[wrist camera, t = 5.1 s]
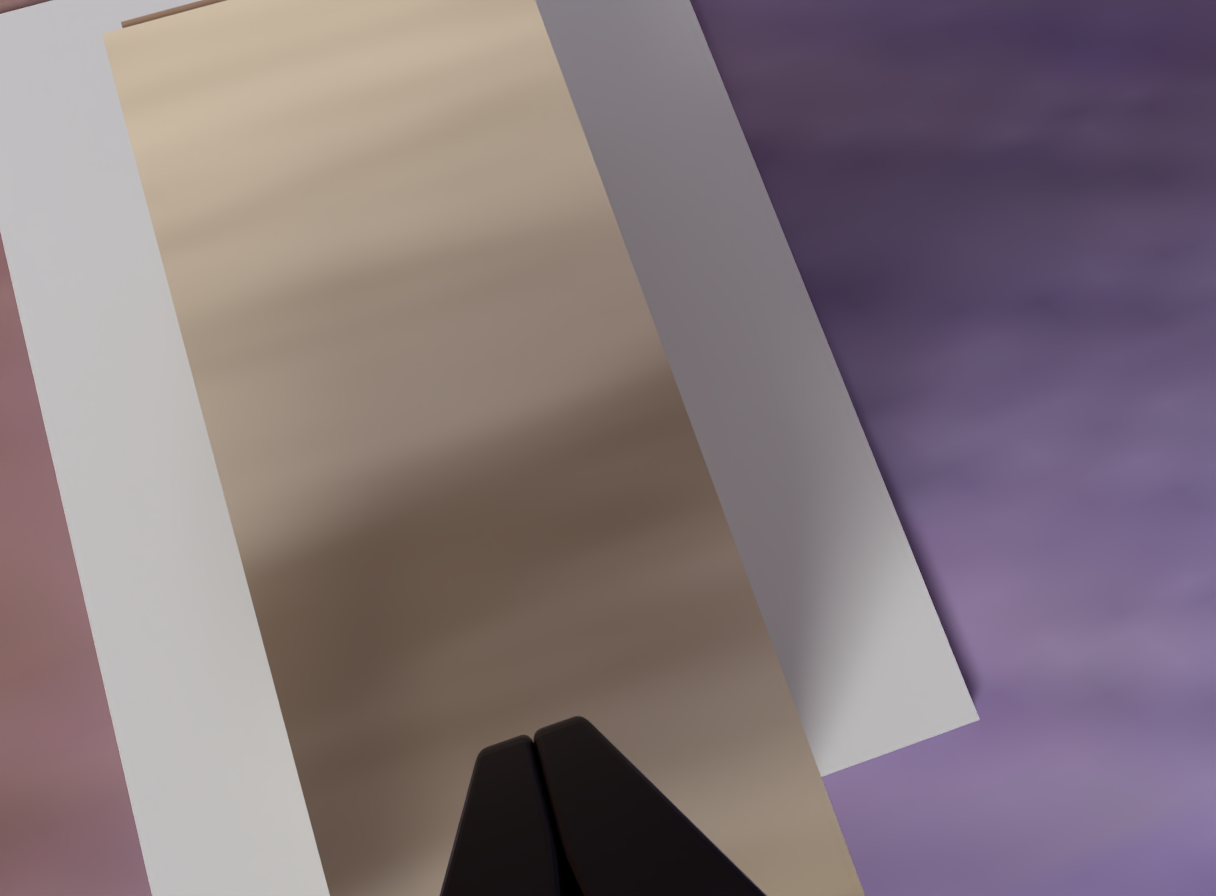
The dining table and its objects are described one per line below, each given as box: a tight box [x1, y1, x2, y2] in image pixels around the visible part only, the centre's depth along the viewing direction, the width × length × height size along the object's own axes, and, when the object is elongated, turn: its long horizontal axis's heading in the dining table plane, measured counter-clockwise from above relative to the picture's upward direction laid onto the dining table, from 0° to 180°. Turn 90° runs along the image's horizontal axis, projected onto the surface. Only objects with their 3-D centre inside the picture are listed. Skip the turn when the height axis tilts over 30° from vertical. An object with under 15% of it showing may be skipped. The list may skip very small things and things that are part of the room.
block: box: [102, 0, 865, 896], centre depth 14 cm, size 5×5×12 cm
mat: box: [0, 0, 980, 896], centre depth 18 cm, size 16×12×1 cm
